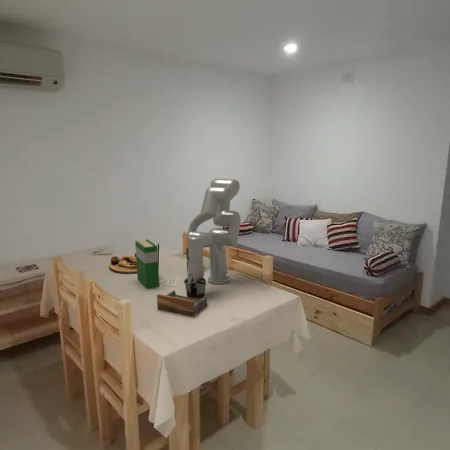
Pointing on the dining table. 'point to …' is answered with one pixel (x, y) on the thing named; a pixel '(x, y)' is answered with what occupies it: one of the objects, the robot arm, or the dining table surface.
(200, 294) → the food container
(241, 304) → the dining table surface
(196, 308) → the tray
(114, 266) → the wooden plate with food
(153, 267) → the hardback book
